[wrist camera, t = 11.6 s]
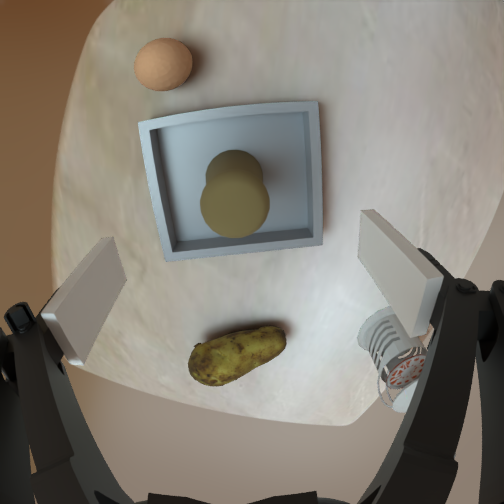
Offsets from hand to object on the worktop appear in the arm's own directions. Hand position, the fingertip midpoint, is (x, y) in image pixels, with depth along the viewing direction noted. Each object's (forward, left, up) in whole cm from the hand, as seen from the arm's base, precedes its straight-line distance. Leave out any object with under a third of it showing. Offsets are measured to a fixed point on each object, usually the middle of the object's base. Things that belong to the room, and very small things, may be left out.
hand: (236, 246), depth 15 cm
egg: (+6, -13, -18) cm, 23 cm away
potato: (+3, +23, -18) cm, 29 cm away
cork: (0, 0, -17) cm, 17 cm away
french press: (-20, +27, -18) cm, 38 cm away
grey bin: (0, 0, -18) cm, 18 cm away
